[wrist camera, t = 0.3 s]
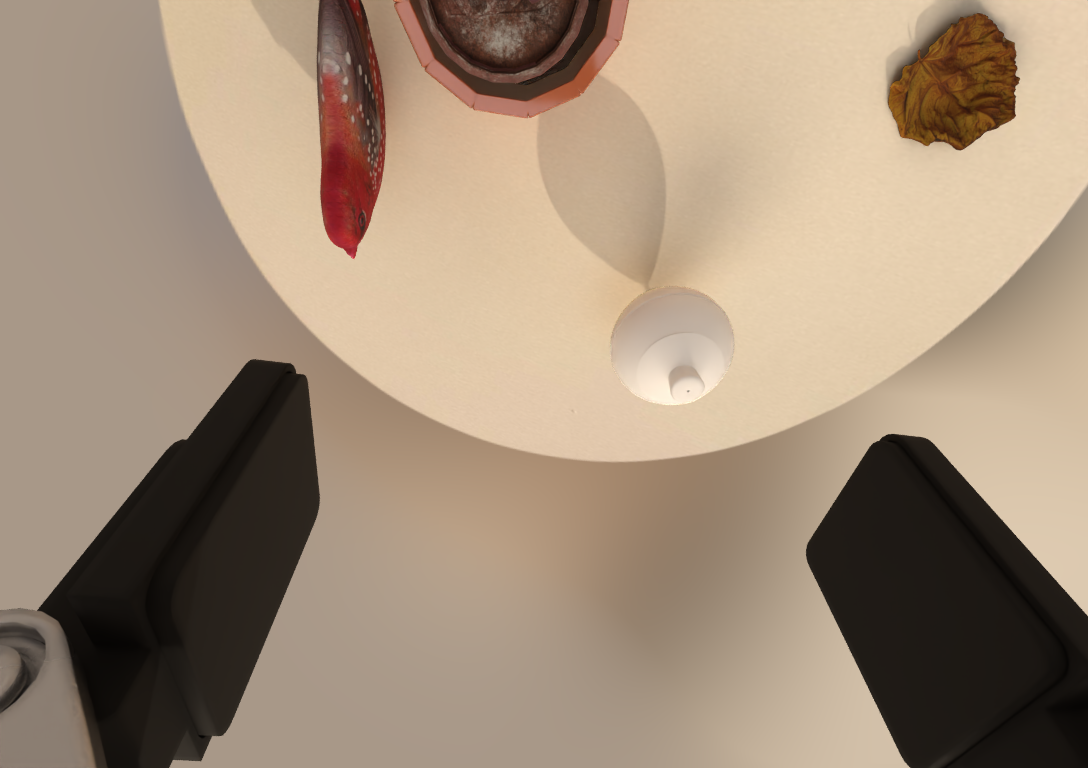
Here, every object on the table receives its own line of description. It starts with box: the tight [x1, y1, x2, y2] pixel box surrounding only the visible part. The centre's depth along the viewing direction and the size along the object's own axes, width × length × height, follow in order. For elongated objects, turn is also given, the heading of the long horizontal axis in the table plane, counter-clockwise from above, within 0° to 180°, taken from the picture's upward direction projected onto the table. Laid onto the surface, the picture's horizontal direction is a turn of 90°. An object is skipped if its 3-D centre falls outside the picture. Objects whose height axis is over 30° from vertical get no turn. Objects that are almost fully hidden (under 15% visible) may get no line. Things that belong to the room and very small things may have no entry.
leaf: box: [888, 13, 1020, 150], centre depth 33 cm, size 6×7×2 cm
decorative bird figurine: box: [317, 0, 386, 259], centre depth 28 cm, size 3×18×10 cm, turn 176°
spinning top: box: [610, 286, 734, 405], centre depth 36 cm, size 8×8×12 cm
